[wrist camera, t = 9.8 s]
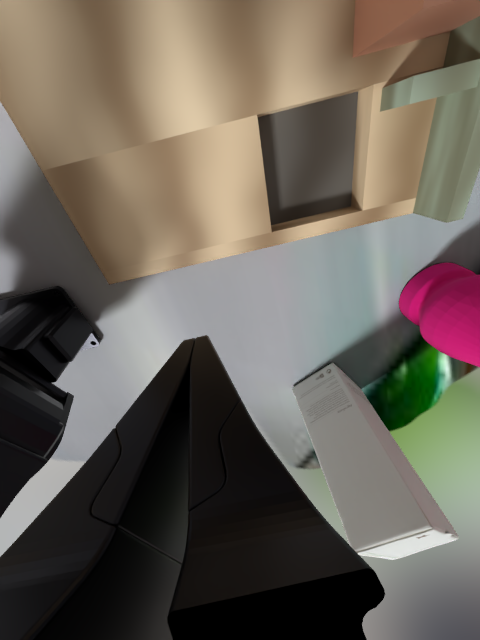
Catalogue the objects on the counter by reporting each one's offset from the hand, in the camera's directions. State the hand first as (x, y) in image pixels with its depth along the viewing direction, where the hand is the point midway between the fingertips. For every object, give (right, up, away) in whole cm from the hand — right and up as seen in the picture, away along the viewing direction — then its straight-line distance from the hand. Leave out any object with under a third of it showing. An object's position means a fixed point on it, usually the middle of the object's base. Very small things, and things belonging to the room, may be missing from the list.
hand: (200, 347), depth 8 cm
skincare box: (+13, -8, +23) cm, 28 cm away
